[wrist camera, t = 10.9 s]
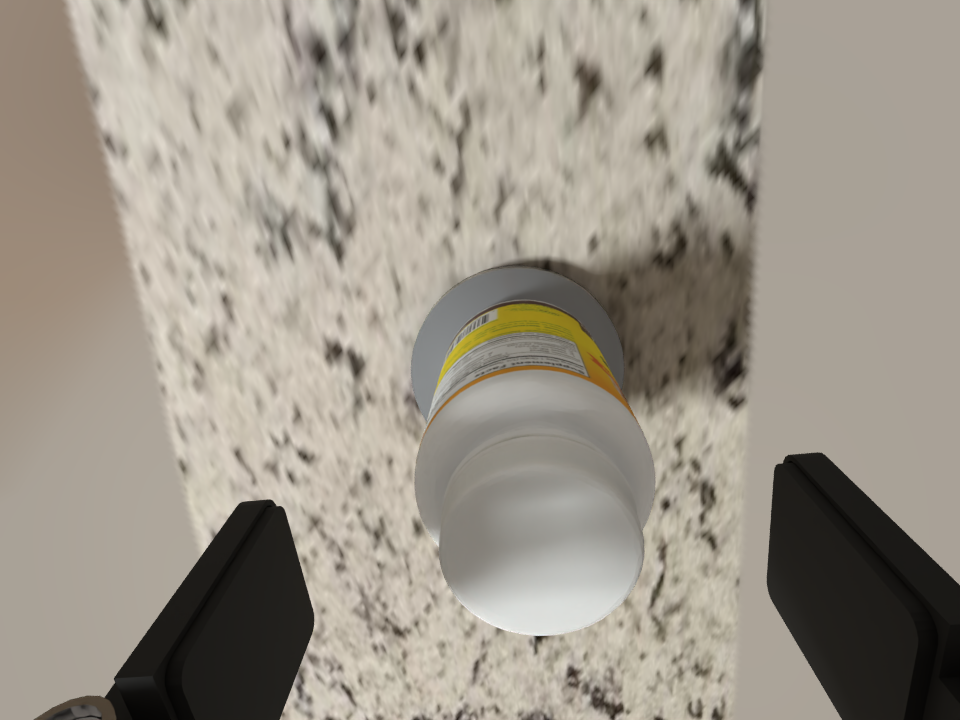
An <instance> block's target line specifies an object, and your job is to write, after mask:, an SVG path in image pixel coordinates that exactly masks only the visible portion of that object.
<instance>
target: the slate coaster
mask: <svg viewBox="0 0 960 720" xmlns="http://www.w3.org/2000/svg"><path fill="white" fill-rule="evenodd" d="M512 300H536V301H542V302H546V303H549V304H552V305H555V306H557V307H559V308H561V309H563V310H565V311H567V312H568V313H570V314H571V315H573V316H574V317H575V318H576V319H578V320H579V321H580V322H581V323H582V324H583V325H584V326H585V328H586V329H587V330H588V331H589V333H590V334H591V336H592V337H593V339H594V340H595V342H596V344H597V345H598V347H599V349H600V351H601V353H602V355H603V357H604V359H605V361H606V363H607V365H608V367H609V368H610V370H611V372H612V374H613V376H614V377H615V380H616V382H617V383H618V385H619V387H620V389H621V391H622V385H623V380H624V358H623V351H622V347H621V343H620V339H619V337H618V334H617V332H616V329H615V327H614V325H613V323H612V322H611V320H610V318H609V317H608V315H607V313H606V312H605V310H604V309H603V308H602V306H601V305H600V304H599V303H598V301H597V300H596V299H595V298H594V297H593V296H592V295H591V294H590V293H589V292H588V291H587V290H586V289H584V288H583V287H582V286H580V285H579V284H577V283H576V282H575V281H573V280H571V279H569V278H567V277H565V276H563V275H561V274H559V273H556V272H553V271H550V270H547V269H543V268H538V267H533V266H521V265H518V266H503V267H498V268H492V269H489V270H486V271H483V272H479V273H477V274H475V275H473V276H470V277H468V278H466V279H464V280H463V281H461V282H460V283H458V284H457V285H455V286H454V287H452V288H451V289H450V290H449V291H448V292H446V293H445V294H444V295H443V296H442V297H441V298H440V299H439V301H438V302H437V303H436V304H435V305H434V306H433V308H432V309H431V311H430V312H429V314H428V315H427V317H426V319H425V321H424V323H423V325H422V327H421V329H420V331H419V333H418V336H417V339H416V342H415V345H414V349H413V355H412V361H411V378H412V387H413V391H414V395H415V399H416V401H417V404H418V406H419V409H420V411H421V413H422V415H423V416H424V418H425V420H426V422H427V419H428V415H429V412H430V408H431V405H432V401H433V397H434V393H435V390H436V387H437V384H438V380H439V377H440V373H441V370H442V367H443V363H444V360H445V357H446V354H447V351H448V349H449V347H450V344H451V343H452V341H453V339H454V337H455V336H456V334H457V333H458V331H459V330H460V329H461V328H462V326H463V325H464V324H465V323H466V322H467V321H468V320H470V319H471V318H472V317H473V316H475V315H476V314H478V313H479V312H481V311H482V310H484V309H486V308H488V307H490V306H493V305H496V304H499V303H502V302H506V301H512Z"/></svg>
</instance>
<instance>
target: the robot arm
mask: <svg viewBox="0 0 960 720" xmlns="http://www.w3.org/2000/svg"><path fill="white" fill-rule="evenodd" d="M767 587H768V592H769V595H770V597H771V600H772V602H773V603H774V605H775V607H776V609H777V610H778V612H779V614H780V615H781V617H782V619H783V620H784V622H785V624H786V626H787V627H788V629H789V630H790V632H791V634H792V636H793V637H794V639H795V641H796V642H797V644H798V646H799V648H800V649H801V651H802V652H803V654H804V656H805V658H806V659H807V661H808V663H809V664H810V666H811V668H812V670H813V671H814V673H815V675H816V676H817V678H818V680H819V681H820V683H821V685H822V686H823V688H824V690H825V691H826V693H827V695H828V696H829V698H830V700H831V702H832V703H833V705H834V706H835V708H836V710H837V712H838V713H839V715H840V717H841V718H842V720H960V585H959V584H958V583H957V582H956V581H955V580H954V579H953V578H952V577H951V576H949V574H948V573H946V571H944V570H943V569H942V568H941V567H940V566H939V565H938V564H937V563H936V562H935V561H934V560H933V559H932V558H931V557H930V556H929V555H928V554H927V553H926V552H925V551H924V550H923V549H922V548H921V547H920V546H919V545H918V544H916V542H914V541H913V540H912V539H911V538H910V537H909V536H908V535H907V534H906V533H905V532H904V531H903V530H902V529H901V528H900V527H899V526H898V525H897V524H896V523H895V522H894V521H893V520H892V519H891V518H890V517H889V516H888V515H886V514H885V513H884V512H883V511H882V510H881V509H880V508H879V507H878V506H877V505H876V504H875V503H874V502H873V501H872V500H871V499H870V498H869V497H868V496H867V495H866V494H865V493H864V492H863V491H862V490H861V489H859V488H858V487H857V486H856V485H855V484H854V483H853V482H852V481H851V480H850V479H849V478H848V477H847V476H846V475H845V474H844V473H843V472H842V471H841V470H840V469H839V468H838V467H837V466H836V465H835V464H834V463H833V462H832V461H831V460H830V459H828V458H827V457H826V456H825V455H824V454H823V453H807V454H795V455H788V456H786V457H785V459H784V461H783V464H777V465H776V467H775V470H774V481H773V495H772V510H771V525H770V540H769V554H768V570H767ZM313 628H314V612H313V608H312V605H311V601H310V598H309V594H308V591H307V587H306V583H305V580H304V576H303V573H302V569H301V566H300V562H299V559H298V555H297V552H296V548H295V544H294V541H293V537H292V534H291V530H290V527H289V523H288V520H287V516H286V513H285V510H284V508H283V507H281V506H276V504H275V503H274V502H273V501H272V500H258V501H246V502H241V503H240V504H239V505H238V506H237V507H236V508H235V510H234V511H233V513H232V514H231V515H230V517H229V518H228V520H227V521H226V522H225V524H224V525H223V527H222V528H221V529H220V531H219V532H218V534H217V535H216V536H215V538H214V539H213V541H212V542H211V543H210V545H209V546H208V548H207V549H206V550H205V552H204V553H203V555H202V556H201V557H200V559H199V560H198V562H197V563H196V564H195V566H194V567H193V569H192V570H191V571H190V573H189V574H188V575H187V577H186V578H185V580H184V581H183V582H182V584H181V585H180V587H179V588H178V589H177V591H176V593H175V594H174V595H173V596H172V598H171V599H170V601H169V602H168V603H167V605H166V606H165V608H164V609H163V611H162V612H161V613H160V615H159V616H158V618H157V619H156V620H155V622H154V623H153V624H152V626H151V627H150V629H149V630H148V631H147V633H146V634H145V636H144V637H143V638H142V640H141V641H140V643H139V644H138V646H137V647H136V648H135V649H134V651H133V652H132V654H131V655H130V656H129V658H128V659H127V661H126V662H125V663H124V665H123V667H122V668H121V669H120V670H119V672H118V673H117V675H116V676H115V678H114V680H115V684H114V685H113V686H112V688H111V689H110V691H109V692H108V694H107V695H106V696H105V698H103V697H101V696H84V697H79V698H75V699H71V700H69V701H66V702H64V703H62V704H60V705H57V706H55V707H53V708H51V709H50V710H48V711H47V712H45V713H43V714H42V715H40V716H39V717H37V718H35V719H34V720H280V717H281V714H282V712H283V709H284V706H285V704H286V701H287V699H288V696H289V693H290V691H291V688H292V685H293V683H294V680H295V677H296V675H297V672H298V669H299V667H300V664H301V662H302V659H303V656H304V654H305V651H306V648H307V646H308V643H309V640H310V638H311V635H312V632H313Z"/></svg>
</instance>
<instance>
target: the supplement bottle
mask: <svg viewBox="0 0 960 720" xmlns="http://www.w3.org/2000/svg"><path fill="white" fill-rule="evenodd" d="M654 494H655V469H654V462H653V458H652V454H651V451H650V448H649V445H648V443H647V440H646V438H645V436H644V433H643V431H642V429H641V427H640V425H639V423H638V421H637V420H636V418H635V416H634V414H633V412H632V410H631V408H630V406H629V404H628V403H627V401H626V399H625V397H624V395H623V393H622V391H621V389H620V387H619V385H618V383H617V382H616V380H615V377H614V376H613V374H612V372H611V370H610V368H609V367H608V365H607V363H606V361H605V359H604V357H603V355H602V353H601V351H600V349H599V347H598V345H597V344H596V342H595V340H594V339H593V337H592V336H591V334H590V333H589V331H588V330H587V329H586V328H585V326H584V325H583V324H582V323H581V322H580V321H579V320H578V319H576V318H575V317H574V316H573V315H571V314H570V313H568V312H567V311H565V310H563V309H561V308H559V307H557V306H555V305H552V304H549V303H546V302H542V301H536V300H512V301H506V302H502V303H499V304H496V305H493V306H490V307H488V308H486V309H484V310H482V311H481V312H479V313H478V314H476V315H475V316H473V317H472V318H471V319H470V320H468V321H467V322H466V323H465V324H464V325H463V326H462V328H461V329H460V330H459V331H458V333H457V334H456V336H455V337H454V339H453V341H452V343H451V344H450V347H449V349H448V351H447V354H446V357H445V360H444V363H443V367H442V370H441V373H440V377H439V380H438V384H437V387H436V390H435V393H434V397H433V401H432V405H431V408H430V412H429V415H428V419H427V422H426V426H425V430H424V433H423V437H422V441H421V444H420V447H419V451H418V455H417V459H416V467H415V495H416V501H417V506H418V509H419V512H420V516H421V518H422V521H423V523H424V525H425V527H426V529H427V530H428V532H429V534H430V535H431V537H432V539H433V540H434V541H435V543H436V544H437V545H438V547H439V560H440V565H441V569H442V572H443V575H444V578H445V580H446V582H447V584H448V586H449V588H450V589H451V591H452V592H453V594H454V595H455V597H456V598H457V599H458V600H459V601H460V603H461V604H462V605H463V606H464V607H466V608H467V609H468V610H469V611H470V612H471V613H473V614H474V615H476V616H477V617H479V618H480V619H481V620H483V621H485V622H487V623H489V624H491V625H493V626H495V627H498V628H500V629H503V630H506V631H510V632H514V633H519V634H525V635H535V636H548V635H557V634H564V633H569V632H573V631H577V630H580V629H583V628H585V627H588V626H590V625H592V624H594V623H596V622H598V621H600V620H601V619H603V618H605V617H606V616H607V615H609V614H610V613H612V612H613V611H614V610H615V609H616V608H617V607H619V606H620V605H621V604H622V603H623V601H624V600H625V599H626V598H627V597H628V595H629V594H630V593H631V591H632V590H633V588H634V587H635V585H636V582H637V580H638V578H639V575H640V573H641V570H642V565H643V560H644V537H643V532H642V530H643V528H644V526H645V524H646V522H647V520H648V518H649V515H650V512H651V508H652V504H653V500H654Z"/></svg>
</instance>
